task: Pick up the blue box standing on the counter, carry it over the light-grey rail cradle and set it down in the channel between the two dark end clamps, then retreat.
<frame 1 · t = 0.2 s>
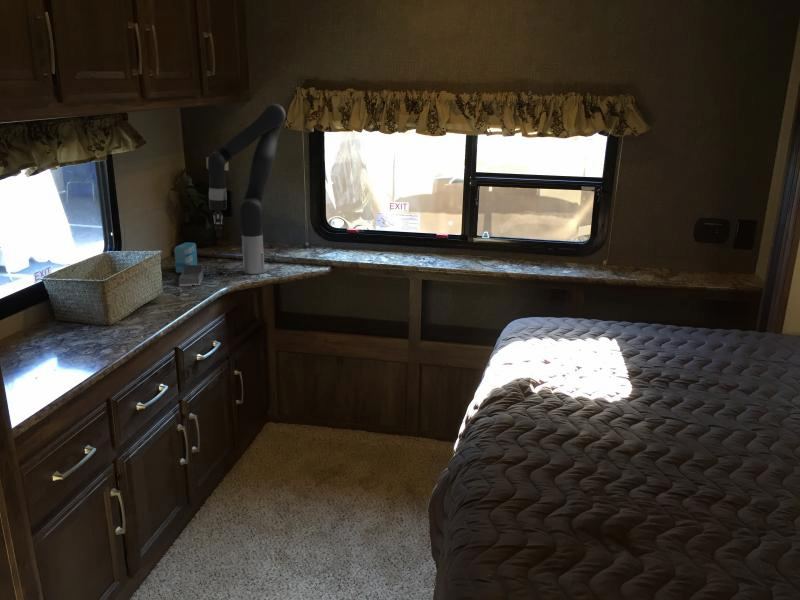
hand: (218, 234, 302), 17 cm above the worktop, tool pointing down, fingers open, 8 cm apart
rail cradle: (191, 280, 294), on the worktop
blue box: (187, 271, 309), on the worktop
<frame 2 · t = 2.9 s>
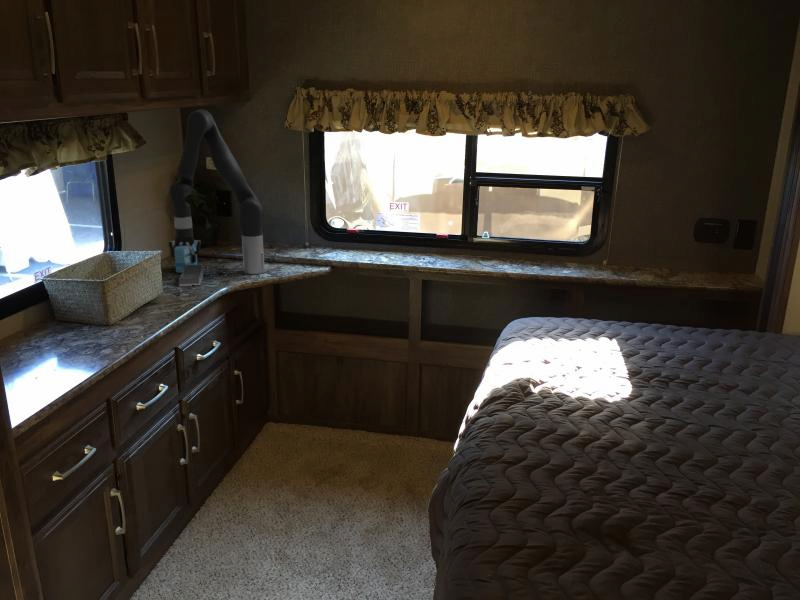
hand: (186, 262, 308), 4 cm above the worktop, tool pointing down, fingers closed on blue box, 5 cm apart
blue box: (187, 271, 309), on the worktop, touching gripper
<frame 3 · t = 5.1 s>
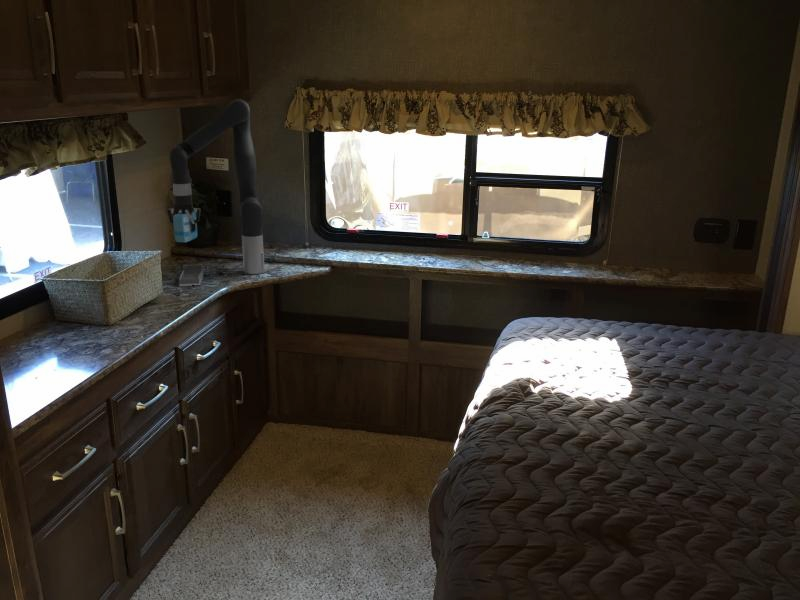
hand: (186, 231, 298), 19 cm above the worktop, tool pointing down, fingers closed on blue box, 5 cm apart
blue box: (186, 240, 299), point 15 cm above the worktop, touching gripper
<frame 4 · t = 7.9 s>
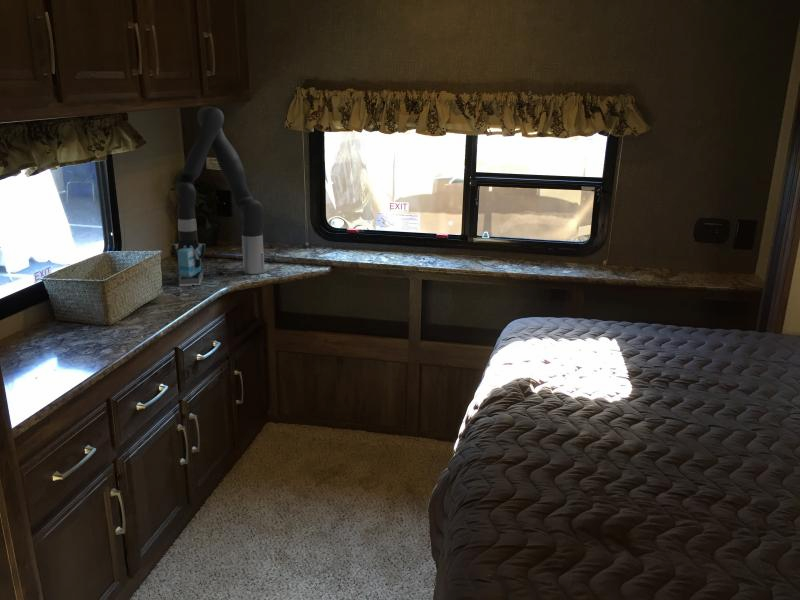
hand: (190, 267, 292), 6 cm above the worktop, tool pointing down, fingers closed on blue box, 5 cm apart
blue box: (191, 274, 293), point 3 cm above the worktop, touching gripper, rail cradle
when the fingers open (6 cm above the worktop, at t = 8.1 s): blue box stays where it is, resting on rail cradle.
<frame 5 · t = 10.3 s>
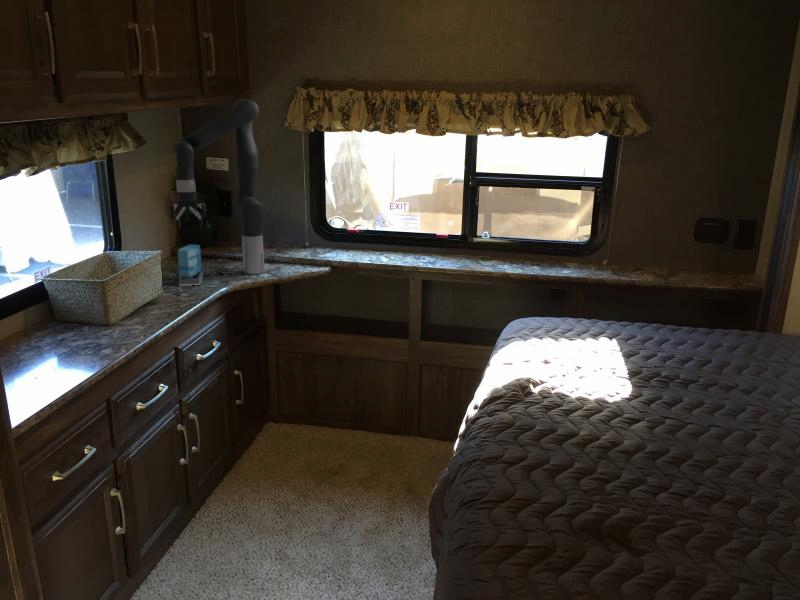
hand: (189, 228, 289), 23 cm above the worktop, tool pointing down, fingers open, 8 cm apart
blue box: (191, 274, 293), point 3 cm above the worktop, touching rail cradle
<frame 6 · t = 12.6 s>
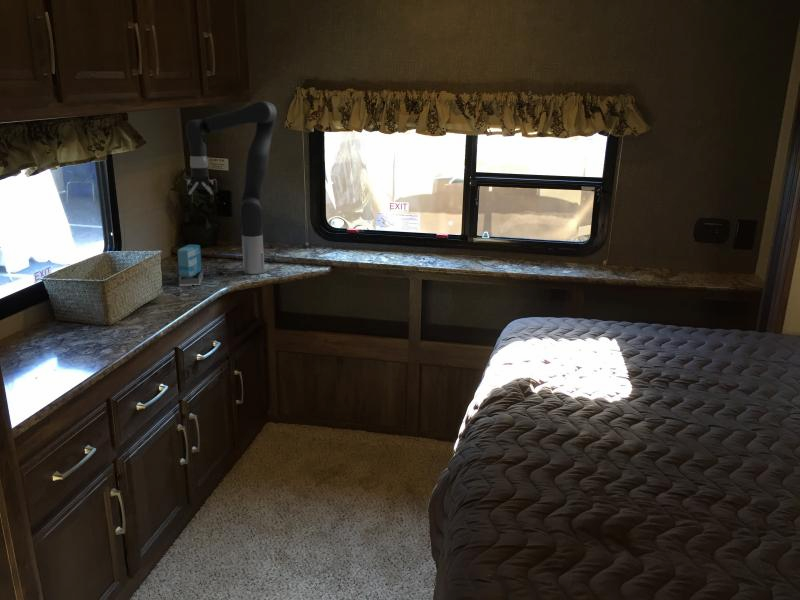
hand: (201, 202, 306), 30 cm above the worktop, tool pointing down, fingers open, 8 cm apart
nothing on the worktop moved.
at the end: blue box 0.1 cm off-centre on the rail cradle, point 2.8 cm above the rail cradle's base; blue box tilted 0°; the gripper is holding nothing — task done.
